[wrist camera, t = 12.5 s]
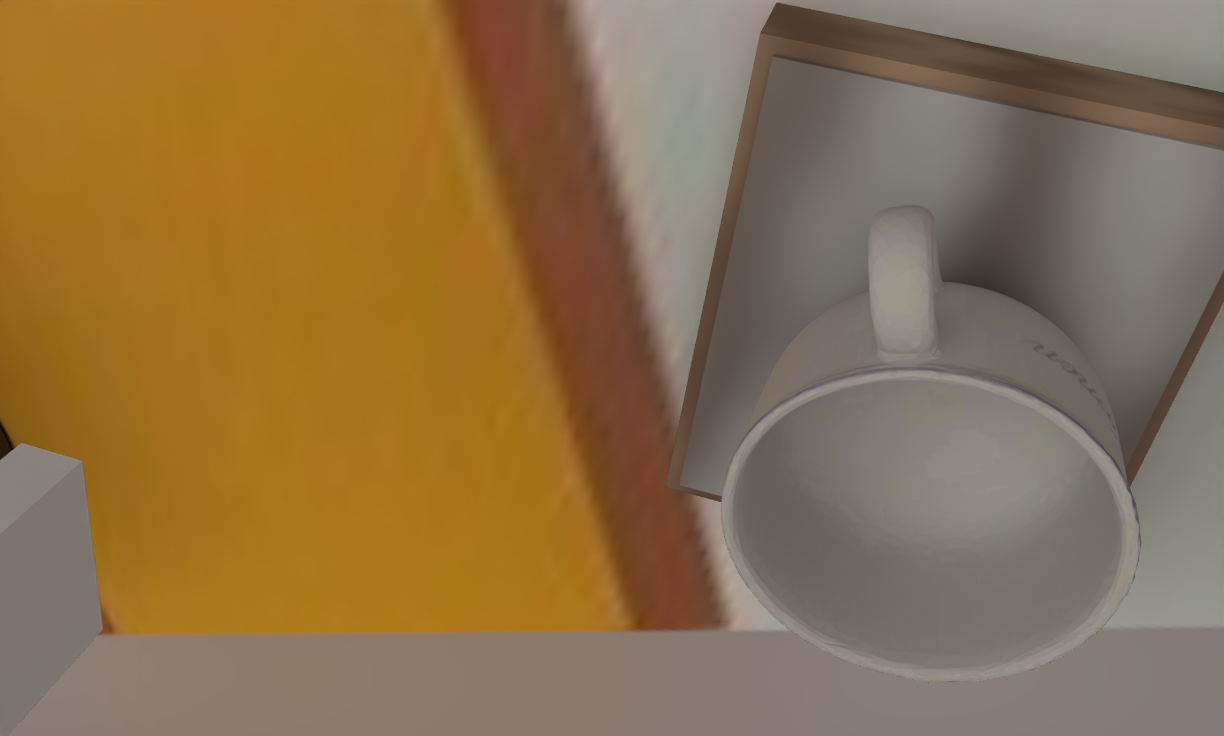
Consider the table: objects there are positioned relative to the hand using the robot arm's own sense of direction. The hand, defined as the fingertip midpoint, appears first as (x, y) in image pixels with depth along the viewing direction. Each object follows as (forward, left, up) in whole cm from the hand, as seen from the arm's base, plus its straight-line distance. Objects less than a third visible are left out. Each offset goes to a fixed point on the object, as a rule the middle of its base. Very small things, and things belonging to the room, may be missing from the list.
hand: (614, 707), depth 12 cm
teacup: (+6, -7, -24) cm, 25 cm away
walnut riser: (+6, -7, -28) cm, 29 cm away
